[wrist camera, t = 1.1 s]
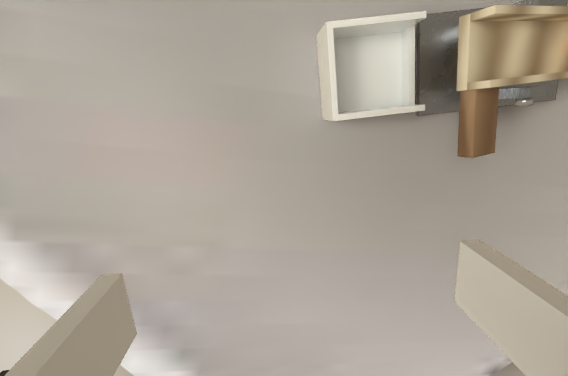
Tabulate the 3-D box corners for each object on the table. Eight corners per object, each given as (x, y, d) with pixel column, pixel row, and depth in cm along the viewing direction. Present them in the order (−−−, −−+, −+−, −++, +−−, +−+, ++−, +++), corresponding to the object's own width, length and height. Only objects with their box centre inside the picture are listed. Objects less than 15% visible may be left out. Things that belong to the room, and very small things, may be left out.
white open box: (316, 36, 34) (326, 21, 28) (404, 26, 34) (432, 10, 28) (322, 119, 36) (332, 121, 31) (405, 109, 37) (430, 109, 31)
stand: (416, 115, 37) (459, 117, 29) (417, 16, 34) (465, -13, 26) (551, 99, 37) (631, 97, 29) (562, 0, 34) (655, -34, 26)
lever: (453, 156, 28) (485, 160, 26) (459, 17, 25) (495, 4, 23) (564, 131, 35) (598, 132, 32) (579, 17, 32) (619, 7, 29)
